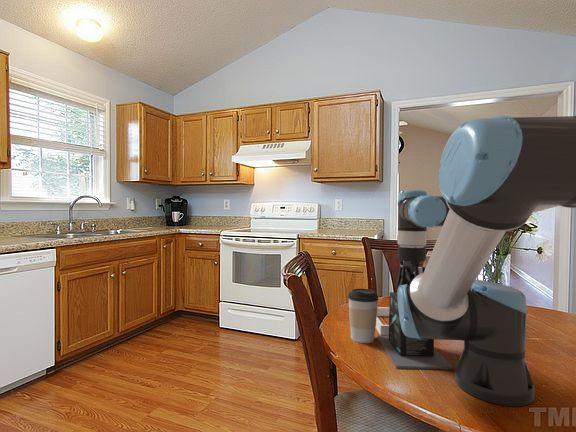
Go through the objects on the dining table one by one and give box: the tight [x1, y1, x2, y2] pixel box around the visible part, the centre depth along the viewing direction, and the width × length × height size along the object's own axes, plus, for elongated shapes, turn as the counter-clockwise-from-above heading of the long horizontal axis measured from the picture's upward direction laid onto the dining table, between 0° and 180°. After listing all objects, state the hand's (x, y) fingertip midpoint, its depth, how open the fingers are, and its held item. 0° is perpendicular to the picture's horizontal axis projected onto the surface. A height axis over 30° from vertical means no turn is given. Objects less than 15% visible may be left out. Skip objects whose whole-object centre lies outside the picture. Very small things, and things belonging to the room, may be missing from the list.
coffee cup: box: [347, 288, 379, 344], centre depth 103 cm, size 9×9×15 cm
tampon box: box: [388, 291, 435, 356], centre depth 95 cm, size 11×9×15 cm
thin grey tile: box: [376, 335, 454, 371], centre depth 94 cm, size 20×14×1 cm
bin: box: [375, 306, 389, 336], centre depth 116 cm, size 20×17×3 cm
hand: (410, 322), depth 94 cm, fingers open, 13 cm apart
